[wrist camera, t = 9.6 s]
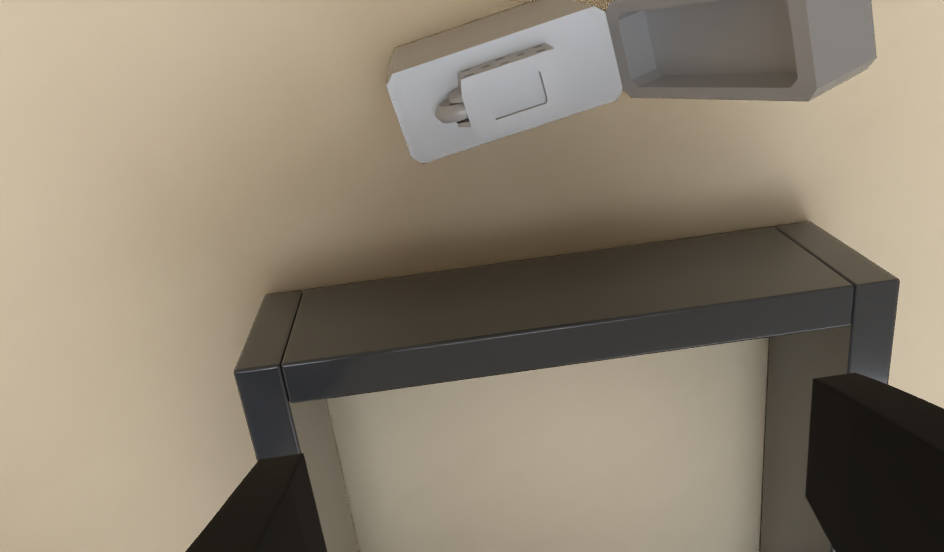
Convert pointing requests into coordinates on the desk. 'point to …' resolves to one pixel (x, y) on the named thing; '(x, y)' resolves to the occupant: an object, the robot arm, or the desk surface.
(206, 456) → the desk surface
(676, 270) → the sink
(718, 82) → the lighter
